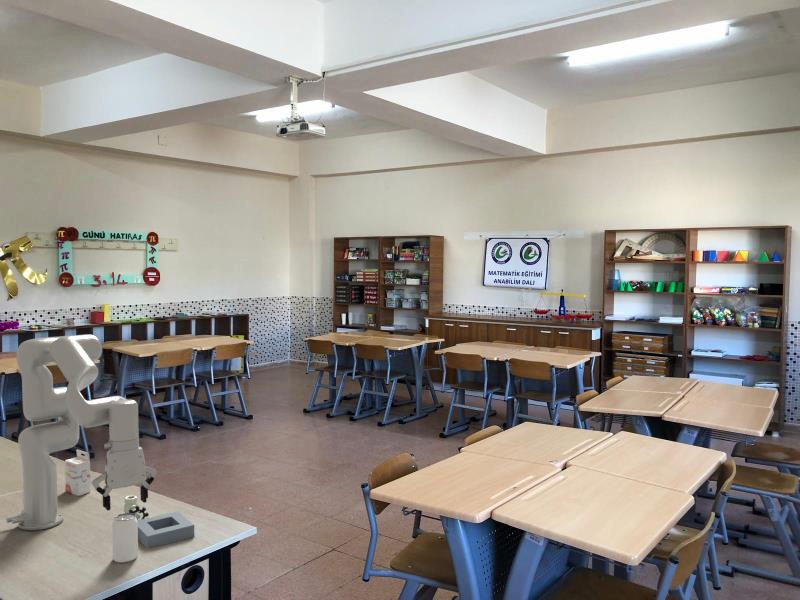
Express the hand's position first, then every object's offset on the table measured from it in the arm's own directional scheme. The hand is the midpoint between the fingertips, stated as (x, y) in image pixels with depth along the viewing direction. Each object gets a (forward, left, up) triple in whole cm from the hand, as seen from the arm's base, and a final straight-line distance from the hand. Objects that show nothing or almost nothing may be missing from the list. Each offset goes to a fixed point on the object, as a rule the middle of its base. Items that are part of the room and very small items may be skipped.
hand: (125, 505), depth 182 cm
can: (0, +1, -16) cm, 16 cm away
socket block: (+14, +10, -15) cm, 23 cm away
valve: (+10, +27, -16) cm, 33 cm away
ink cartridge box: (+2, +66, -16) cm, 68 cm away
